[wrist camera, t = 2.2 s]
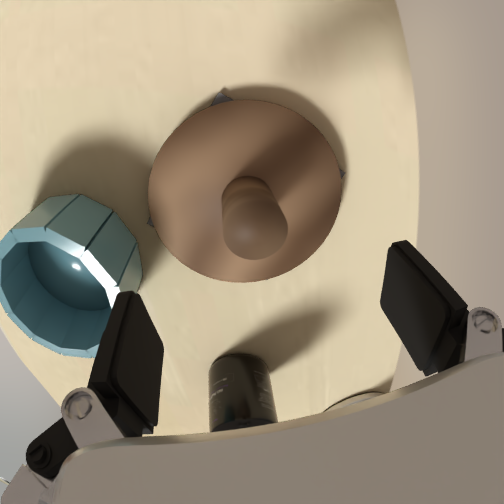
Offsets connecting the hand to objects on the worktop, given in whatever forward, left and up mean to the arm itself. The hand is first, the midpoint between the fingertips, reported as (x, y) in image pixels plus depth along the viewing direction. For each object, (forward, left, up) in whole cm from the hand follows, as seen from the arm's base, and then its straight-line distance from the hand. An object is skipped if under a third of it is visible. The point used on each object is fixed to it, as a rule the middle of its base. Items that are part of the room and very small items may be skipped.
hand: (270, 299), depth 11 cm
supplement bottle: (-11, +18, -13) cm, 25 cm away
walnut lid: (-1, 0, -13) cm, 13 cm away
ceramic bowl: (+9, +12, -13) cm, 20 cm away
